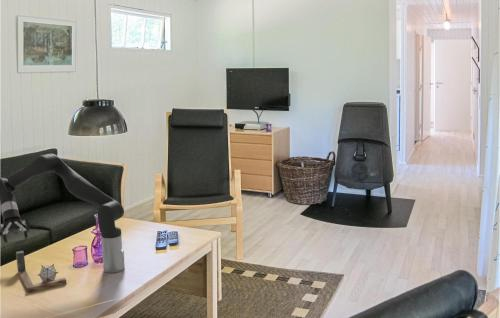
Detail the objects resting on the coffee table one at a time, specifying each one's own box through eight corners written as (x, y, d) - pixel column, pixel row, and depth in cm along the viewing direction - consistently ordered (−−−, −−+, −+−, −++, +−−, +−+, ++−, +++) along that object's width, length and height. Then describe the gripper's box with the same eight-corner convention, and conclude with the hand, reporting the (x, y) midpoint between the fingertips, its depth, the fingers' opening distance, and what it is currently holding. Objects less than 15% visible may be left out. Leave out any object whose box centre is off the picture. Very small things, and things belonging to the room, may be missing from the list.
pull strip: (53, 264, 242) (51, 245, 240) (66, 283, 220) (64, 262, 218) (17, 272, 233) (15, 251, 231) (28, 292, 211) (26, 270, 209)
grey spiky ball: (51, 290, 222) (48, 279, 215) (34, 283, 223) (32, 272, 216) (63, 275, 228) (61, 264, 221) (47, 267, 229) (45, 256, 222)
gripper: (-6, 210, 239) (0, 239, 231) (26, 206, 246) (32, 234, 239) (-6, 218, 244) (-1, 247, 237) (25, 213, 252) (31, 241, 244)
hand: (16, 240), depth 238 cm, fingers open, 8 cm apart
